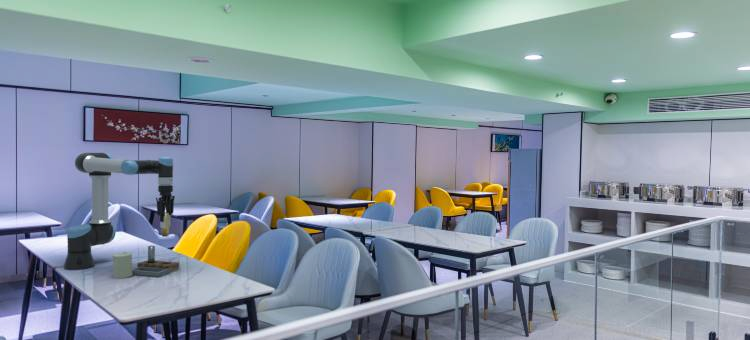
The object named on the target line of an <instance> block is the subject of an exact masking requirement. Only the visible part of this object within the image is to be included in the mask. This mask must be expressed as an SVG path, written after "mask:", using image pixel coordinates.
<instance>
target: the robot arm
mask: <svg viewBox="0 0 750 340" xmlns="http://www.w3.org/2000/svg"><path fill="white" fill-rule="evenodd" d="M74 165H75V166H74V167H75V168H76V169H77V170H78V171H79V172H81V173H84V174H88V176H89V177H90V178H91V220H89V222H88V224H87V223H86V224H85V223H83V224H76V225H73V226H70V227H69V228H68V230H67V235H66V237H67V255H66V257H65V262H64V263H63V269H65V270H85V269H91V268H94V267H95V260H94V258H93V257H94V256H93V253H92V247H94V246H99V245H101V246H102V245H106V244H109V243H111V242H112V241H113V240H114V239H115V238H116V233H117V231H116V228H115V226H114V225H113V224H112V221H111V220H110V219H109V178H110V177H111V176H112V173H114V174H115V173H117V174H124V175H128V176H129V175H131V176H132V175H133V176H134V175H150V174H151V175H156V174H157V175H158V179H157V182H158V183H157V184H158V187H157V191H158V193H159V196H157V197H155V200H156V215H157V216H158V217H159V222H160V226H159V227H160V229H162V228H165V223H166V216H164V215H165V212H167V213H169V228H170V227H171V219H172V218H171V216H172V215H173V214H174V207H175V206H174V205H175V198H176V197H175V195H172V192H174V186H173V184H174V183H173V182H174V181H173V180H174V179H173V178H174V159H173V158H172V157H171V156H169V157H167V156H160V157H158V159H157V160H153V159H143V160H132V159H131V160H130V159H118V158H114V157H113V155H112V154H110V153H107V152H82V153H81V154H79V155H77V157H75V160H74ZM162 213H163V214H162Z"/></svg>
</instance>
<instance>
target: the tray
mask: <svg viewBox="0 0 750 340" xmlns="http://www.w3.org/2000/svg"><path fill="white" fill-rule="evenodd" d="M132 273H133V275H132V276H137V277H138V276H140V277H150V278H151V277H152V278H161V277H164V276H166V275H168V274H169V275H170V273H169V269H163V268H151V267H138V266H137V267H136V268H132Z"/></svg>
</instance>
